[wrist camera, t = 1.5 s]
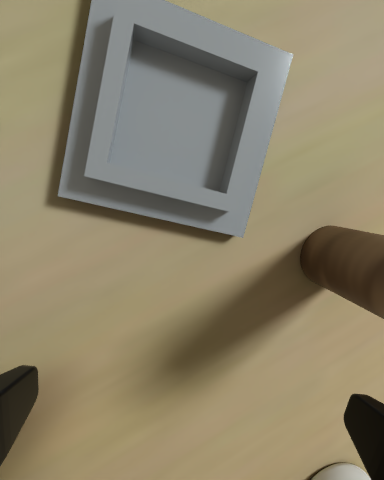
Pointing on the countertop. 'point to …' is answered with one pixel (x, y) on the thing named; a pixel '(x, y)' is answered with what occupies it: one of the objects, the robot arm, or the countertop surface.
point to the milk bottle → (342, 473)
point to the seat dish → (171, 115)
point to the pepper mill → (347, 265)
